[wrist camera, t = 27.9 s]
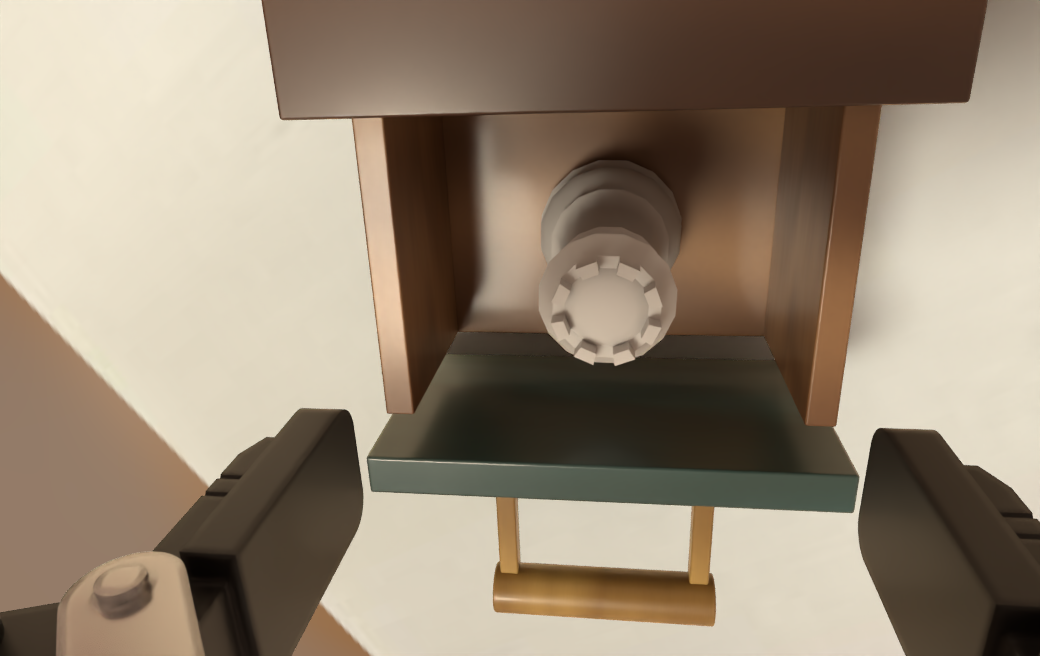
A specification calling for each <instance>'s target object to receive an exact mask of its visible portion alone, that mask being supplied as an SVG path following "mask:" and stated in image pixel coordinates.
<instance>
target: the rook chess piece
mask: <svg viewBox="0 0 1040 656" xmlns="http://www.w3.org/2000/svg"><path fill="white" fill-rule="evenodd" d="M681 221H682V218H681V215H680V212H679V209H678V206H677V203H676V200H675V198H674V195H673V192H672V191H671V190H670V189H669V188H668V187H667V186H666V185H665V184H664V183H663V181H662V180H661V179H660V178H659V177H658V176H657V175H656V174H655V173H654V172H653V171H650V170H648V169H646V168H643V167H641V166H639V165H637V164H634V163H632V162H630V161H622V160H598V161H596V162H593V163H591V164H588V165H586V166H583V167H581V168H578V169H575V170H573V171H572V172H571V173H570V174H569V175H568V176H567V177H566V178H564V179H563V180H562V181H561V182H560V183H559V184H558V185H557V186H556V187H555V188H554V189H553V190H552V192H551V195H550V197H549V199H548V202H547V204H546V206H545V209H544V211H543V213H542V222H541V250H542V252H543V254H544V257H545V259H546V262H547V264H548V266H547V268H546V270H545V272H544V275H543V277H542V279H541V281H540V284H539V312H540V315H541V317H542V319H543V322H544V324H545V326H546V329H547V331H548V333H549V334H550V335H551V336H552V337H553V338H554V339H555V340H556V341H557V342H558V343H559V344H560V345H561V346H562V347H563V348H564V349H565V350H566V351H567V352H569V353H571V354H574V357H576V358H578V359H580V360H583V361H585V362H587V363H590V364H592V365H593V364H594V362H603V363H614V364H615V366H616V365H620V364H623V363H626V362H629V361H632V360H635V357H638V356H642V355H643V354H645V353H646V352H647V351H648V350H650V349H651V348H652V347H653V346H655V345H656V344H657V343H658V342H660V341H661V340H662V339H663V338H664V336H665V334H666V332H667V330H668V329H669V327H670V325H671V323H672V321H673V319H674V318H675V314H676V302H677V287H676V285H675V282H674V279H673V276H672V274H671V271H670V270H671V268H672V266H673V264H674V262H675V260H676V258H677V256H678V255H679V252H680V239H681V227H682V226H681Z"/></svg>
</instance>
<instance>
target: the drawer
mask: <svg viewBox="0 0 1040 656" xmlns="http://www.w3.org/2000/svg"><path fill="white" fill-rule="evenodd" d="M881 107H882V105H867V106H828V107H788V108H749V109H709V110H670V111H630V112H591V113H551V114H512V115H472V116H433V117H393V118H353V119H352V124H353V132H354V141H355V149H356V157H357V166H358V174H359V183H360V191H361V199H362V208H363V216H364V224H365V233H366V241H367V250H368V258H369V266H370V275H371V283H372V291H373V300H374V308H375V317H376V325H377V333H378V342H379V350H380V358H381V367H382V375H383V384H384V392H385V400H386V409H387V413H389V414H392V416H391V418H390V419H389V421H388V423H387V424H386V426H385V428H384V429H383V431H382V433H381V434H380V436H379V438H378V439H377V441H376V443H375V444H374V446H373V448H372V449H371V451H370V453H369V455H368V456H367V464H368V471H369V479H370V486H371V491H373V492H394V493H416V494H438V495H461V496H483V497H496V504H497V521H498V538H499V555H500V561H499V562H498V563H497V565H496V569H495V575H494V583H493V606H494V610H495V612H501V613H516V614H531V615H547V616H562V617H577V618H592V619H607V620H622V621H637V622H653V623H668V624H683V625H698V626H714V623H715V615H716V595H715V584H714V578H713V575H712V574H711V573H709V571H710V557H711V544H712V531H713V517H714V507H728V508H750V509H773V510H795V511H817V512H840V513H853V512H854V508H855V502H856V495H857V489H858V483H859V475H858V473H857V471H856V469H855V467H854V465H853V464H852V462H851V460H850V458H849V456H848V454H847V452H846V450H845V448H844V447H843V445H842V443H841V441H840V439H839V437H838V435H837V433H836V431H835V430H834V428H833V427H834V426H836V423H837V416H838V409H839V402H840V395H841V388H842V381H843V374H844V367H845V360H846V353H847V346H848V339H849V332H850V325H851V318H852V311H853V304H854V297H855V290H856V283H857V276H858V269H859V262H860V255H861V248H862V241H863V234H864V227H865V220H866V213H867V206H868V199H869V192H870V185H871V178H872V171H873V164H874V157H875V150H876V143H877V135H878V128H879V121H880V114H881ZM598 160H622V161H630V162H632V163H634V164H637V165H639V166H641V167H643V168H646V169H648V170H650V171H653V172H654V173H655V174H656V175H657V176H658V177H659V178H660V179H661V180H662V181H663V183H664V184H665V185H666V186H667V187H668V188H669V189H670V190H671V191H672V192H673V195H674V198H675V200H676V203H677V206H678V209H679V212H680V215H681V218H682V221H681V226H682V227H681V239H680V252H679V255H678V256H677V258H676V260H675V262H674V264H673V266H672V268H671V270H670V271H671V274H672V276H673V279H674V282H675V285H676V287H677V302H676V314H675V318H674V319H673V321H672V323H671V325H670V327H669V329H668V330H667V332H666V334H665V335H708V336H764V337H765V340H766V342H767V344H768V346H769V348H770V350H771V353H772V355H773V357H774V359H775V360H734V359H681V358H635V360H632V361H629V362H626V363H623V364H620V365H616V366H615V364H614V363H603V362H594V364H593V365H592V364H590V363H587V362H585V361H583V360H580V359H578V358H576V357H574V356H521V355H468V354H447V352H448V350H449V348H450V346H451V344H452V342H453V341H454V339H455V337H456V335H457V333H458V332H503V333H548V331H547V329H546V326H545V324H544V322H543V319H542V317H541V315H540V312H539V284H540V281H541V279H542V277H543V275H544V272H545V270H546V268H547V266H548V264H547V262H546V259H545V257H544V254H543V252H542V250H541V222H542V213H543V211H544V209H545V206H546V204H547V202H548V199H549V197H550V195H551V192H552V190H553V189H554V188H555V187H556V186H557V185H558V184H559V183H560V182H561V181H562V180H563V179H564V178H566V177H567V176H568V175H569V174H570V173H571V172H572V171H573V170H575V169H578V168H581V167H583V166H586V165H588V164H591V163H593V162H596V161H598ZM518 498H528V499H550V500H572V501H594V502H617V503H639V504H661V505H684V506H692V512H691V528H690V545H689V561H688V572H681V571H663V570H645V569H628V568H610V567H592V566H575V565H557V564H539V563H522V562H520V540H519V518H518Z"/></svg>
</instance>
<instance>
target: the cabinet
mask: <svg viewBox="0 0 1040 656" xmlns="http://www.w3.org/2000/svg"><path fill="white" fill-rule="evenodd" d="M987 2H988V0H262V7H263V13H264V19H265V26H266V32H267V39H268V45H269V52H270V58H271V65H272V71H273V77H274V84H275V90H276V97H277V103H278V110H279V116H280V119H282V120H314V119H353V118H393V117H433V116H472V115H512V114H551V113H591V112H630V111H670V110H709V109H749V108H788V107H828V106H867V105H907V104H946V103H966V102H968V101H969V99H970V94H971V89H972V83H973V78H974V72H975V67H976V62H977V56H978V51H979V45H980V40H981V35H982V29H983V24H984V18H985V13H986V8H987Z"/></svg>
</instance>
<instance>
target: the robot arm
mask: <svg viewBox="0 0 1040 656" xmlns="http://www.w3.org/2000/svg"><path fill="white" fill-rule="evenodd" d="M362 510H363V487H362V480H361V473H360V467H359V460H358V453H357V446H356V439H355V432H354V425H353V420H352V417H351V415H350V413H349V412H348V411H347V410H342V409H311V408H301V409H299V410H298V411H297V412H296V413H295V414H294V415H293V416H292V417H291V419H290V420H289V421H288V422H287V423H286V425H285V426H284V427H283V428H282V429H281V430H280V432H279V433H278V434H277V435H276V436H275V438H274V437H266V438H264V439H263V440H261V441H259V442H258V443H256V444H255V445H253V446H251V447H250V448H248V449H246V450H245V451H243V452H242V453H240V454H238V456H237V457H236V458H235V459H234V460H233V461H232V462H231V463H230V465H229V466H228V467H227V468H226V469H225V470H224V471H223V472H222V474H221V477H220V479H216V480H215V481H214V483H213V484H212V485H211V486H210V487H209V488H208V489H207V491H206V494H205V496H201V497H200V498H199V499H198V501H197V502H196V503H195V504H194V505H193V506H192V508H190V509H189V511H188V512H187V513H186V514H185V515H184V516H183V518H181V520H180V521H179V522H178V523H177V524H176V525H175V526H174V528H173V529H172V530H171V531H170V532H169V533H168V534H167V535H166V537H165V538H164V539H163V540H162V541H161V542H160V543H159V544H158V546H157V547H156V548H155V549H154V550H153V551H151V552H140V553H135V554H130V555H127V556H123V557H120V558H117V559H114V560H111V561H109V562H107V563H105V564H103V565H101V566H99V567H97V568H95V569H93V570H92V571H90V572H89V573H87V574H86V575H84V576H83V577H81V578H80V579H79V580H78V581H77V582H76V583H74V584H73V585H72V586H71V587H70V588H69V590H68V591H67V592H66V593H65V595H64V596H63V598H62V599H61V602H59V603H53V604H47V605H41V606H36V607H30V608H24V609H18V610H12V611H6V612H1V613H0V656H292V654H293V652H294V649H295V648H296V646H297V644H298V642H299V640H300V638H301V637H302V634H303V633H304V631H305V629H306V627H307V625H308V623H309V621H310V619H311V617H312V616H313V614H314V612H315V610H316V608H317V606H318V604H319V602H320V600H321V598H322V597H323V595H324V593H325V591H326V589H327V587H328V585H329V583H330V581H331V579H332V577H333V576H334V574H335V572H336V570H337V568H338V566H339V564H340V562H341V560H342V558H343V556H344V555H345V553H346V551H347V549H348V547H349V545H350V543H351V541H352V539H353V537H354V536H355V534H356V532H357V529H358V527H359V524H360V520H361V516H362ZM1032 514H1033V513H1032V512H1031V511H1030V510H1029V509H1028V507H1027V506H1026V505H1025V504H1024V503H1023V501H1022V500H1021V499H1020V498H1019V497H1018V495H1017V494H1016V493H1015V492H1014V490H1013V489H1012V488H1011V487H1009V486H1008V485H1006V484H1005V483H1003V482H1002V481H1000V480H998V479H997V478H995V477H994V476H992V475H991V474H989V473H988V472H986V471H985V470H983V469H982V468H980V467H979V466H970V465H963V464H962V462H961V461H960V460H959V459H958V457H957V456H956V455H955V453H954V452H953V451H952V449H951V448H950V447H949V445H948V444H947V443H946V441H945V440H944V439H943V437H942V436H941V435H940V434H939V433H938V432H937V431H935V430H922V429H892V428H879V429H878V430H876V432H875V433H874V435H873V438H872V442H871V447H870V453H869V459H868V465H867V470H866V476H865V482H864V488H863V494H862V500H861V506H860V512H859V519H858V535H859V544H860V549H861V554H862V557H863V560H864V562H865V565H866V567H867V569H868V571H869V574H870V576H871V578H872V580H873V583H874V585H875V587H876V590H877V592H878V594H879V596H880V599H881V601H882V603H883V605H884V608H885V610H886V612H887V614H888V617H889V619H890V621H891V623H892V626H893V628H894V630H895V633H896V635H897V637H898V639H899V642H900V644H901V646H902V648H903V651H904V653H905V655H906V656H1040V522H1039V521H1038V520H1037V519H1033V516H1032Z"/></svg>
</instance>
